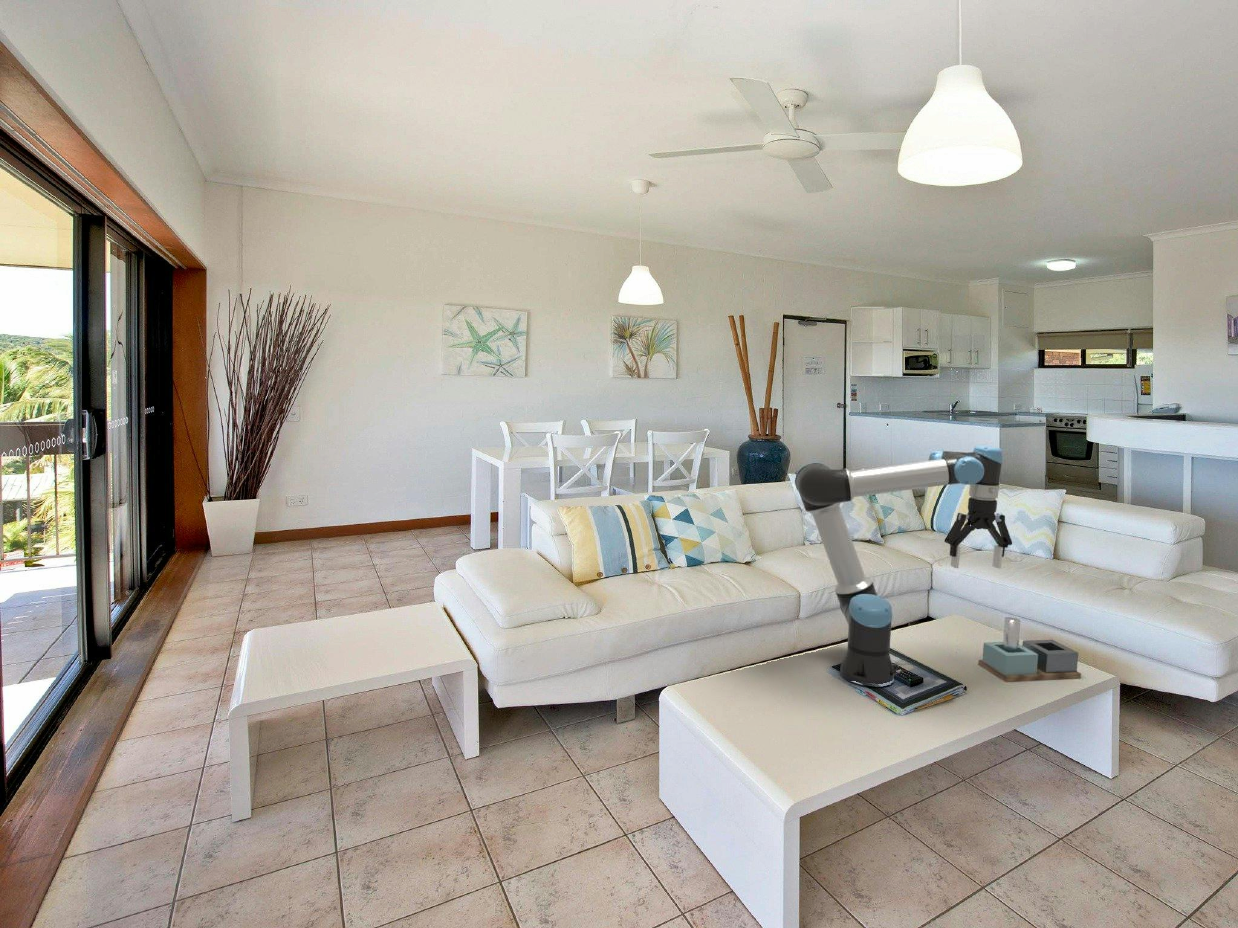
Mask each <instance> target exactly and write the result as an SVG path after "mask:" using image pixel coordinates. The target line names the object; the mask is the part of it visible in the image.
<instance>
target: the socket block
mask: <svg viewBox="0 0 1238 928" xmlns="http://www.w3.org/2000/svg"><path fill="white" fill-rule="evenodd" d="M1021 645H1022V646H1023V647H1025V648H1027V649H1029V650H1031V651H1033V652H1034V653H1036V654H1038V662H1037V669H1039V670H1041V671H1042V672H1044V673H1066V672H1078V663H1079V652H1078V651H1076V650H1074V649H1072V648H1070V647H1068V646H1067V645H1065V644H1062V643H1060V642H1058V641H1056V640H1055V639H1040V640H1037V639H1036V640H1022V644H1021Z"/></svg>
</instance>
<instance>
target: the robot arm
mask: <svg viewBox="0 0 1238 928" xmlns="http://www.w3.org/2000/svg"><path fill="white" fill-rule="evenodd" d="M1002 466H1003V450H1002V449H1001V448H1000V447H997V446H989V445H975V446H974V447H973V451H970V452H964V451H952V450H951V451H950V450H949V451H948V450H947V451H946V450H933V451H931V453H930V454H929V456H928V460H924V461H916V462H909V463H902V464H895V465H893V464H892V465H889V466H888V465H887V466H881V467H872V468H866V469H858V470H850V469H848V468H840V469H839V468H837V469H836V468H835V469H833V468H832V469H831V468H830V467H829V466H828V465H826V464H824V463H822V462H809V463H807V464H805V465H803V466H801V467H800V468H799V470H798V471H797V473H796V475H795V478H794V485H795V489H796V490H797V491H798V493H799V496H800V499H801V502H802V505H803V506H804V507H803V508H804V510H805V512H807V513H808V514H811V515H812V517H813V519H814V522H815V525H816V528H817V531H818V534H819V536H820V540H821V542H822V544H823V547H824V550H825V553H826V556H827V558H828V561H829V565H830V567H831V569H832V571H833V575H834V577H835V580H836V583H837V584H836V587H835V588H834V591H835V595H836V597H837V600H838V602H839V608H840V610H841V612H842V614H843V616H844V618H845V620H846V622H847V623H846V624H847V627H848V632H847V636H848V637H847V649H846V651H845V654H844V656H843V658H842V661H841V662H840V671H839V674H840V673H841V674H840V676H841V675H842V676H841V677H842V678H843V679H845V680H846V681H847V682H850V681H856V682H864V683H865V682H867V683H875V684H883V683H887V682H890V681H892V680H893V678H894V675H895V676H896V674H894V672H895V670H894V666H893V662H892V659H891V655H890V651H891V650H890V649H891V634H892V620H893V610H892V605H891V603H890V601H888V600H887V599H886V598H883V597H881V596H879V595H878V594H877V593H878V592H877V591H876V588H875V585H874V583H873V580H872V579H871V578H869V577H867V576H866V575H865V573H864V570H863V567H862V564H861V562H860V559H859V556H858V553H857V551H856V548H855V545H854V542H853V539H852V537H851V534H850V532H849V529H848V526H847V522H846V520H845V518H844V515H843V512H842V510H841V507H840V505H841V503H847V502H852V501H853V500H854V498H857V497H858V498H859V497H864V496H873V495H879V494H881V495H882V494H887V493H889V494H890V493H895V492H902V491H903V492H905V491H910V490H919V489H925V488H935V487H941V486H949V485H958V484H962V485H964V486H965V485H967V486H969V490H968V495H969V497H968V501H967V510H968V511H967V513H966V514H965V513H961V512H958V513H957V514H956V519H955V521H954V523H953V524H952V526H951V528H950V530H949V531H948V533H947V535H946V537H945V538H944V539H943V540H944V543H946V544H948V545H949V556H950V558H951V559H950V566H951V567H953V568H955V569H959V565H960V556H961V548H962V547H961V546H959V545H961V543H962V542H963V541H964V540H965V539H966V538H967V537H968V536H969V535H970V534H971V533H972V532H973V531H974V530H987V532H989V534H990V536H991V537H992V538H993V540H994V541H995V543H996V544H997V545H996V544H995V545H994V546H993V555H992V556H993V557H992V567H994V568H997V569H998V570H999V569H1002V568H1001V567H1002V559H1003V558H1004V556H1005V552H1006V551H1005V550H1006V549H1007V548H1008V547H1009V546H1011V545H1013V541H1012V538H1011V534H1010V532H1009V529H1008V526H1007V524H1006V516H1005V515H1004V514H1001V513H996V512H997V508H998V501H997V500H996V499H998V497H999V491H1000V490H999V489H1000V478H1001V473H1002ZM994 522H995V524H996V526H997V527H996V526H995V524H994ZM997 529H998V530H997Z"/></svg>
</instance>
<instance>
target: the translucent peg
mask: <svg viewBox="0 0 1238 928" xmlns="http://www.w3.org/2000/svg"><path fill="white" fill-rule="evenodd" d="M1003 623H1004V624H1003V636H1002V637H1003V639H1002V642H1003V648H1002V650H1004V651H1006V652H1008V653H1016V652H1018V645H1019V644H1020V631H1021V630H1020V629H1021V619H1019V618H1017V617H1012V616H1008V617H1007V616H1006V617H1004V622H1003Z"/></svg>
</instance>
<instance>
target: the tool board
mask: <svg viewBox="0 0 1238 928" xmlns="http://www.w3.org/2000/svg"><path fill="white" fill-rule="evenodd" d="M978 666H980V667H982V668H983V669H985V670H986V671H988V672H989V673H990V674H992V675H994V676H995V677H997V678H998V679H1000V680H1002V681H1003V682H1005V683H1008V682H1009V683H1013V682H1033V681H1051V680H1052V681H1053V680H1068V679H1069V680H1072V679H1073V680H1074V679H1081V677H1082V676H1081V675H1082V672H1079V671H1077V672H1066V673H1044V672H1042V671H1041V670H1039V669H1037V674H1026V675H1004V674H1002V673H1000V672H999V671H997V670H996V669H994V668H992V667H991V666H989V665H988V664H986V663H984V662H983V661H982V659H978Z"/></svg>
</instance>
